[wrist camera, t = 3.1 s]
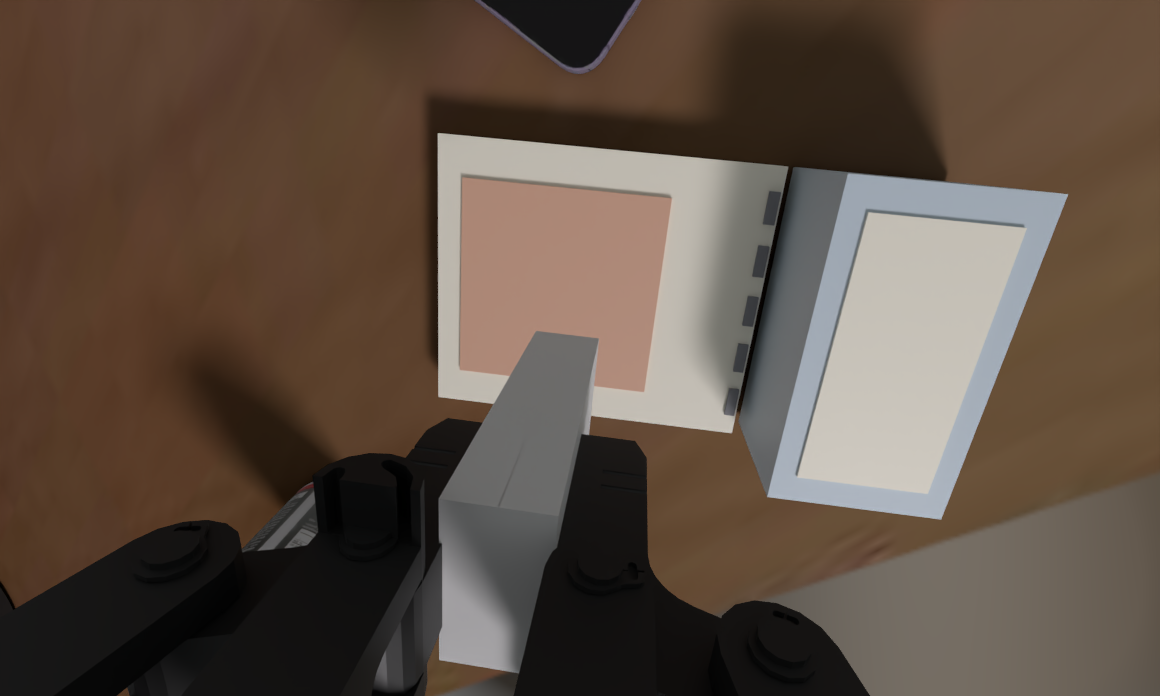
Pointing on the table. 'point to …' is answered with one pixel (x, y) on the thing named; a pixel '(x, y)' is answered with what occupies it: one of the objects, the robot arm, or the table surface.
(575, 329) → the board
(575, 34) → the smartphone
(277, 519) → the pill bottle
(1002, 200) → the blue framed panel box
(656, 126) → the table surface
